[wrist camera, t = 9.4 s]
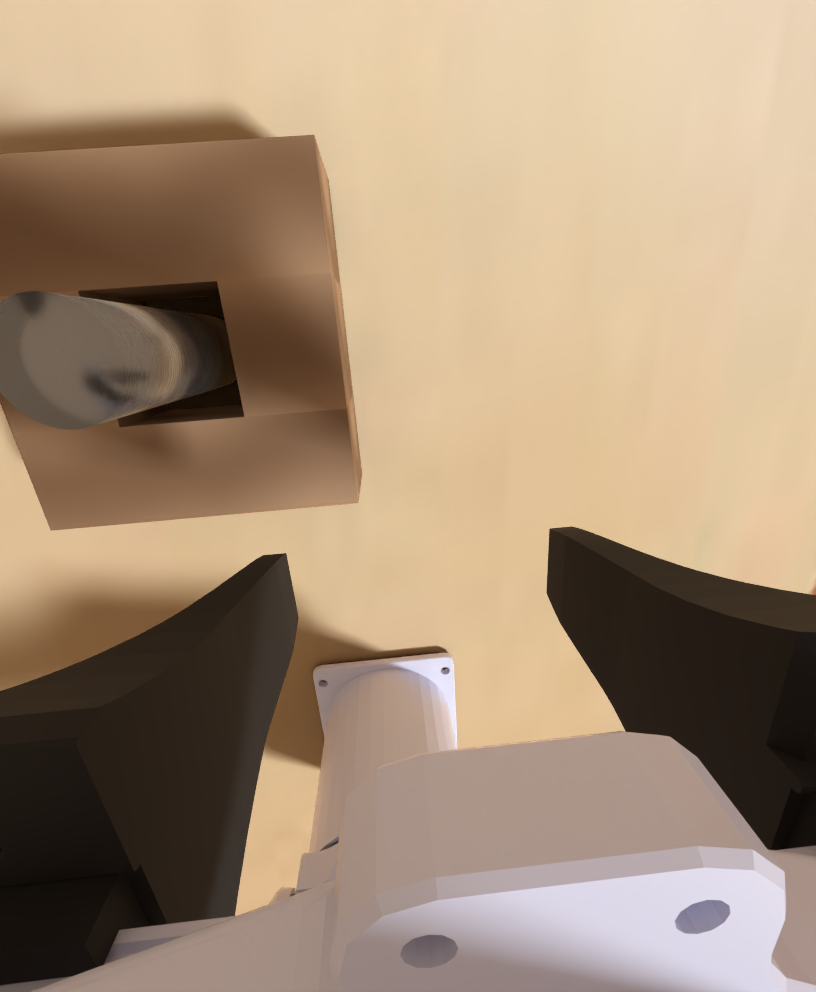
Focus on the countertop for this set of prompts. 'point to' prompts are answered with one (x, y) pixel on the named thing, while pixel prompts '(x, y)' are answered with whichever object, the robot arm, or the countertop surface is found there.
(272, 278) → the wooden square frame
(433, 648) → the countertop surface
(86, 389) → the steel pin
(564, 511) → the countertop surface
